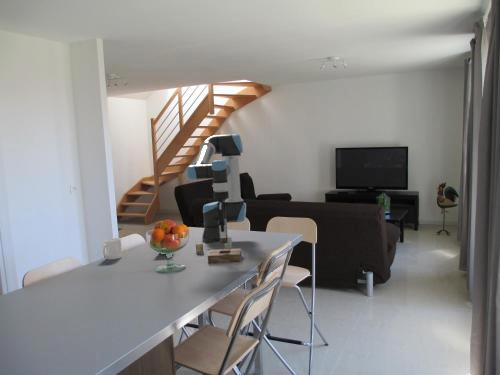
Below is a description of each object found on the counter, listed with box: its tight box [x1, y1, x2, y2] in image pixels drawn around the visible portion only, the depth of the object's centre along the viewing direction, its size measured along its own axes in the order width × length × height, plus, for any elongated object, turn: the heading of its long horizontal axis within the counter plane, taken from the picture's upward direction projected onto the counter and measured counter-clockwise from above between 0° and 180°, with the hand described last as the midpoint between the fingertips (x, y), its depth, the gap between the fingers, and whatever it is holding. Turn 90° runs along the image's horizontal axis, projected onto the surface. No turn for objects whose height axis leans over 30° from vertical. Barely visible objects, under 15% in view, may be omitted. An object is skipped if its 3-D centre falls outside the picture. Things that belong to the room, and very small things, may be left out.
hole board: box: [207, 248, 243, 265], centre depth 209 cm, size 12×16×4 cm
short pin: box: [195, 242, 205, 255], centre depth 226 cm, size 4×4×5 cm
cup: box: [102, 237, 123, 261], centre depth 224 cm, size 8×12×10 cm
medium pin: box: [223, 235, 233, 249], centre depth 225 cm, size 4×4×8 cm
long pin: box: [219, 219, 229, 244], centre depth 207 cm, size 4×4×12 cm
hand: (223, 236), depth 208 cm, fingers closed on long pin, 4 cm apart
